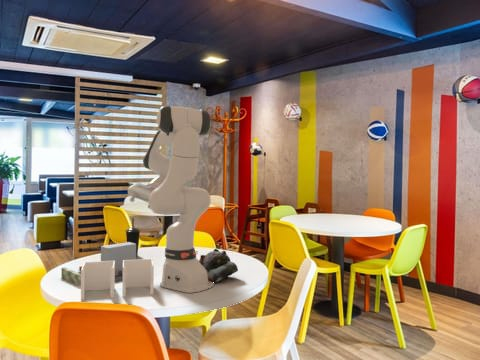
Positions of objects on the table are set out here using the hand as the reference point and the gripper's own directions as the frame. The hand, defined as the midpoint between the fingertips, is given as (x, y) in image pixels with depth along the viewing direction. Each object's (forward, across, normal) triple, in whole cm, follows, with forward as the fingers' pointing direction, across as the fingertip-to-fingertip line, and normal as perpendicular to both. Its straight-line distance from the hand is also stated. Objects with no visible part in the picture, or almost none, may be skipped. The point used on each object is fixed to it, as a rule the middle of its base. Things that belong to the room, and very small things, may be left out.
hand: (140, 204), depth 178 cm
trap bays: (+25, -1, +23) cm, 34 cm away
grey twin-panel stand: (+41, +16, +9) cm, 45 cm away
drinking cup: (-5, -6, +41) cm, 41 cm away
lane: (+27, -2, +22) cm, 35 cm away
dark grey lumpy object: (+13, +46, +13) cm, 50 cm away
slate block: (+20, +2, +25) cm, 32 cm away
